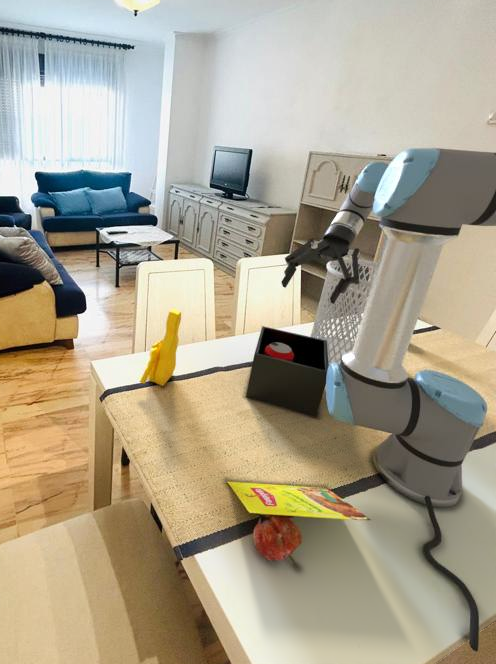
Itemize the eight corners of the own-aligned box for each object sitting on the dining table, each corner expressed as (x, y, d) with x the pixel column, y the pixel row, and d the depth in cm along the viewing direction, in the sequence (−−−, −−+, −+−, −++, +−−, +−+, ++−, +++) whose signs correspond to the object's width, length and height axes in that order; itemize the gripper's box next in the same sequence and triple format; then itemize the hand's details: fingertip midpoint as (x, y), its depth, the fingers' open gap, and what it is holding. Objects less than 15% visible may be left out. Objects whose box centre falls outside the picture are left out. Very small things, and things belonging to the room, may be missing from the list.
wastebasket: (408, 375, 118) (443, 284, 106) (341, 383, 112) (371, 288, 100) (349, 336, 140) (373, 257, 128) (290, 341, 134) (310, 259, 122)
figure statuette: (162, 360, 118) (168, 294, 109) (186, 369, 114) (194, 301, 106) (133, 390, 103) (137, 317, 95) (159, 401, 100) (166, 326, 92)
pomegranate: (294, 551, 67) (259, 497, 70) (325, 552, 62) (286, 493, 65) (270, 583, 63) (234, 524, 66) (301, 587, 58) (260, 522, 60)
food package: (372, 517, 63) (249, 509, 63) (372, 524, 62) (249, 516, 62) (325, 485, 78) (226, 478, 78) (325, 491, 77) (226, 484, 78)
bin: (316, 417, 97) (329, 373, 92) (245, 397, 103) (254, 354, 98) (315, 380, 112) (327, 340, 107) (254, 364, 119) (262, 326, 113)
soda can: (270, 373, 114) (278, 338, 109) (291, 388, 108) (301, 351, 103) (252, 380, 110) (260, 344, 105) (273, 395, 104) (282, 357, 99)
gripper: (392, 250, 103) (356, 315, 99) (302, 230, 120) (268, 285, 116) (391, 233, 97) (353, 301, 93) (297, 215, 114) (262, 272, 110)
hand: (306, 292), depth 105 cm, fingers open, 13 cm apart
